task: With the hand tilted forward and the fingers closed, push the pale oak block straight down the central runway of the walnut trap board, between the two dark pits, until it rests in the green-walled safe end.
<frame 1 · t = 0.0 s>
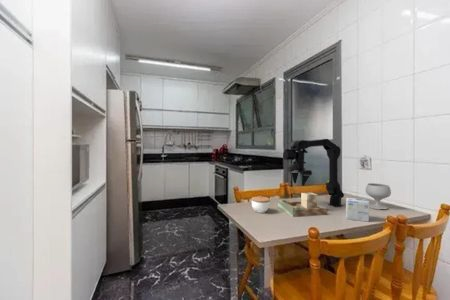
hand: (298, 184, 151), 15 cm above the table, tool pointing down, fingers open, 9 cm apart
chalice: (377, 207, 155), on the table
lidded jar: (260, 211, 140), on the table
trap board: (302, 211, 143), on the table
light bulb box: (356, 219, 130), on the table
oak block: (308, 206, 144), point 2 cm above the table, touching trap board
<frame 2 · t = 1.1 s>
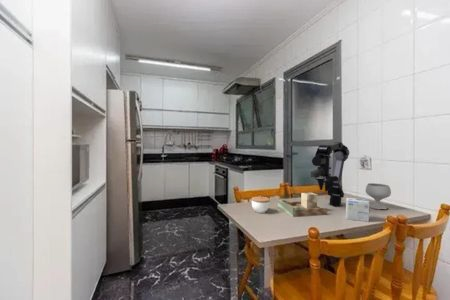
hand: (323, 190, 146), 12 cm above the table, tool pointing down, fingers open, 4 cm apart
nothing on the table moved.
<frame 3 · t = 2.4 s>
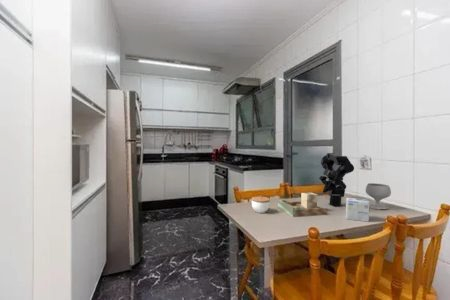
hand: (323, 192, 146), 11 cm above the table, tool tilted 45°, fingers closed
nothing on the table moved.
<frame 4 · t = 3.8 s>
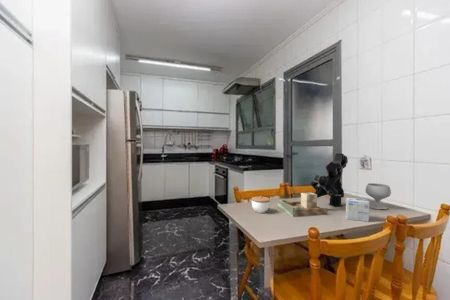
hand: (314, 198, 144), 8 cm above the table, tool tilted 45°, fingers closed, pressing on oak block
oak block: (308, 206, 144), point 2 cm above the table, touching gripper
everything else where it was.
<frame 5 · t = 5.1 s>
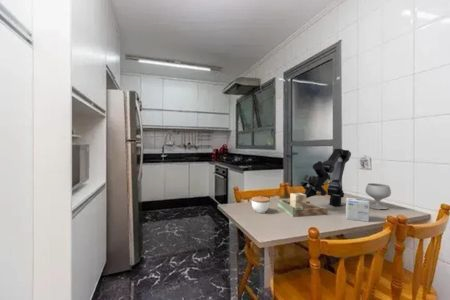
hand: (303, 198, 143), 8 cm above the table, tool tilted 45°, fingers closed
oak block: (297, 207, 142), point 2 cm above the table
everything else where it was.
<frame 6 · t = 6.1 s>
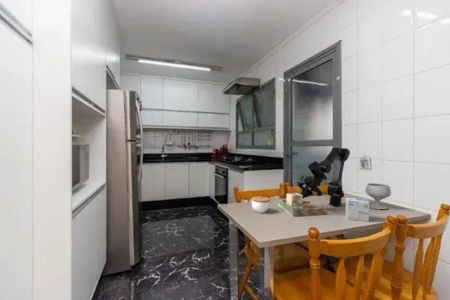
hand: (299, 198, 142), 8 cm above the table, tool tilted 45°, fingers closed, pressing on oak block
oak block: (294, 207, 141), point 2 cm above the table, touching gripper, trap board
everything else where it was.
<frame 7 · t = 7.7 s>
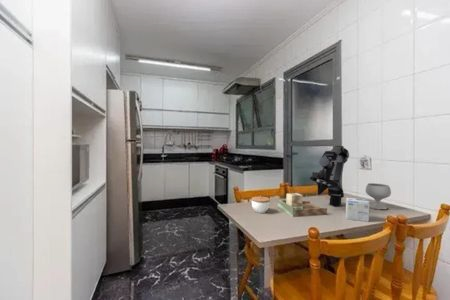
hand: (318, 194, 144), 10 cm above the table, tool tilted 20°, fingers closed
oak block: (294, 207, 141), point 2 cm above the table, touching trap board
everything else where it was.
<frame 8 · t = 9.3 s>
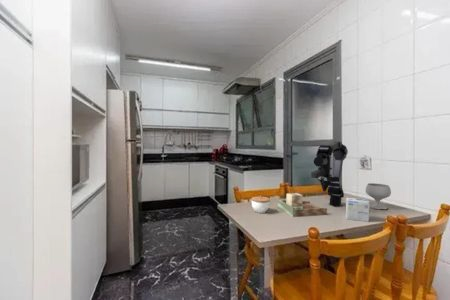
hand: (324, 191, 144), 12 cm above the table, tool pointing down, fingers closed
nothing on the table moved.
at the end: oak block inside the target area (1.3 cm from its centre), point 2.4 cm above the table; oak block tilted 0° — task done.
